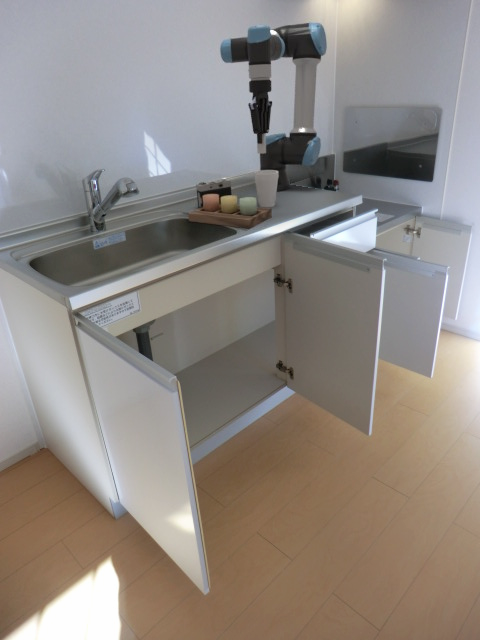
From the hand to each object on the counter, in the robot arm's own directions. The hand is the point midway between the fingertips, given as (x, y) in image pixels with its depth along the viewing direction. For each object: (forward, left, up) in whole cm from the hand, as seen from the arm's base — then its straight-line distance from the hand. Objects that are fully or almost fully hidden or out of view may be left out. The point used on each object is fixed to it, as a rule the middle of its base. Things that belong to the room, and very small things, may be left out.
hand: (261, 153), depth 172 cm
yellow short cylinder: (+11, -8, -19) cm, 23 cm away
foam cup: (-12, -5, -22) cm, 26 cm away
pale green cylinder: (+11, 0, -19) cm, 22 cm away
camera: (-5, -27, -22) cm, 35 cm away
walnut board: (+11, -8, -22) cm, 26 cm away
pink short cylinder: (+11, -16, -19) cm, 27 cm away
